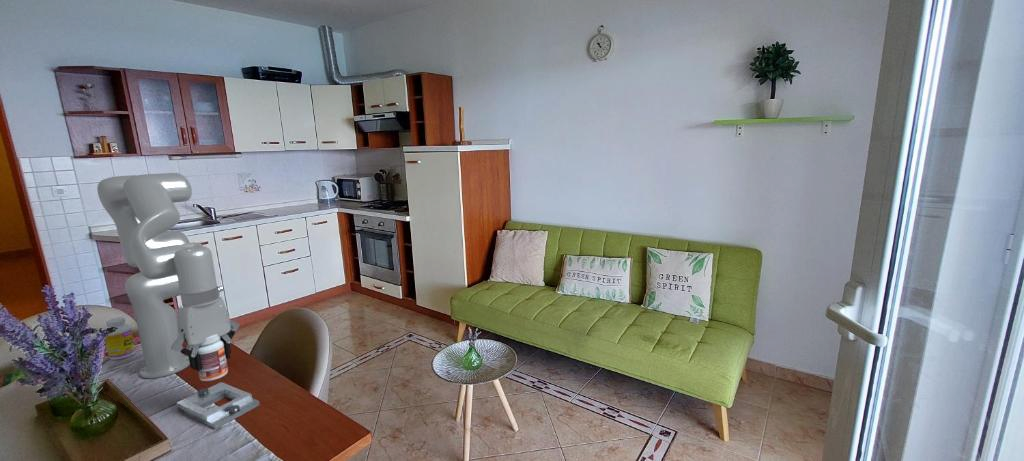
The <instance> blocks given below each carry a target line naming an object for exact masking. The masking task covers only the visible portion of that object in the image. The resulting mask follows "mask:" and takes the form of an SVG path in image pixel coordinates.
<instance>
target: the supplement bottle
mask: <svg viewBox="0 0 1024 461" xmlns="http://www.w3.org/2000/svg"><path fill="white" fill-rule="evenodd" d="M105 325H106V327H107V328H111V327H117V328H118V329H117V330H116V331H115V332H113V333H112V334H109V335H108V336H107V338H106V342H105V346H106V350H107V356H108V359H109V360H112V361H119V360H123V358H124V359H126V357H127V358H129V357H131V356H133V355H135V353H136V348H135V342H134V338H133V333H132V327H131V326H130V325H129V324H127V323H126V318H125V317H123V316H122V317H121V316H120V317H114V318H110V319H107V320H106V321H105Z"/></svg>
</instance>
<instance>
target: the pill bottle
mask: <svg viewBox="0 0 1024 461" xmlns="http://www.w3.org/2000/svg"><path fill="white" fill-rule="evenodd" d="M197 355H199V356H200V360H201V366H202V370H201V371H197V373H198V377H199V380H200V381H201V382H203V381H204V382H211V381H215V380H218V379H221V378H223V377H225V376H226V375H227V374H228V373H229V372H228V371H229V367H228V362H227V359H226V355H225V349H224V344H223V342H222V341H221V340H220V337H218V335H217V334H216V335H213V336H211V337H208V338H206V341H205V342H203V343H201V344H199V348H198V351H197Z"/></svg>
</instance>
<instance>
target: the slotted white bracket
mask: <svg viewBox="0 0 1024 461" xmlns="http://www.w3.org/2000/svg"><path fill="white" fill-rule="evenodd" d="M225 398H227V399H229V400H230V401H228V402H226V403H224V404H222V405H220V406H218V407H216V408H214V409H212V410H211V411H210V410H208V409H207V407H209V406H211V405H213V404H215V403H217V402H219V401H220V400H223V399H225ZM212 403H213V404H212ZM210 404H211V405H210ZM208 405H209V406H208ZM176 406H177V412H180V414H181V413H182V414H183V415H186V416H188V417H190V418H192V419H194V420H196V421H198V422H200V423H202V424H204V425H206V426H208V427H209V428H212V429H215V430H216V429H218V428H220V427H222V426H224V425H225V424H228V423H229V422H231V421H233V420H235V419H237V418H239V417H240V416H243V415H244V414H247V412H250V411H252V410H253V409H255V408H257V407H259V406H260V401H259V400H258V399H255V398H254V397H253V396H252V393H250V392H247V391H244V390H241V389H239V388H237V387H234V386H232V385H230V384H227V383H225V382H222V381H221V382H218V383H217V384H215V385H212V386H210V387H208V388H202V389H201V388H200V389H199V390H198V391H197V392H196V393H195V394H192V395H191V396H188V397H186V398H183V399H182V400H180V401H178V402H176ZM206 406H207V407H206ZM204 407H205V408H204Z"/></svg>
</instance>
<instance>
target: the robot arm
mask: <svg viewBox="0 0 1024 461" xmlns="http://www.w3.org/2000/svg"><path fill="white" fill-rule="evenodd" d="M96 186H97V187H96V188H97V190H96V191H97V196H98V199H99V201H100V203H101V205H102V207H103V208H104V210H105V211H106V213H107V214H108V216H110V218H111V219H112V221H113V223H114V225H115V228H116V231H117V235H118V239H119V243H120V247H121V251H122V254H123V258H124V260H125V262H126V264H127V265H128V266H130V267H132V268H138V269H139V270H138V271H139V272H137V273H135V274H132V275H131V276H129V277H128V278H127V279H126V280H125V283H124V287H125V288H124V289H125V292H126V294H127V295H126V296H127V297H128V300H129V302H130V305H131V307H132V310H133V313H134V317H135V322H136V326H137V330H138V331H137V332H138V335H139V341H140V345H141V350H142V354H143V355H142V356H143V360H144V366H143V367H142V368H141V369H140V370H139V376H140V377H141V378H144V379H157V378H162V377H167V376H170V375H173V374H176V373H178V372H181V371H183V370H185V369H186V368H188V367H190V368H191V369H193V370H195V371H197V372H198V371H201V370H202V366H201V360H200V356H199V355H197V351H198V348H199V344H201V343H203V342H205V341H206V338H208V337H211V336H213V335H216V334H217V335H218V337H220V339H219V340H220V341H222V342H223V344H224V349H225V355H226V360H229V359H231V358H232V357H231V353H232V350H231V349H232V348H231V345H230V344H231V343H232V340H233V337H234V336H235V335H236V332H237V330H239V328H240V326H241V325H240V323H239V322H236V321H234V320H232V319H230V317H229V316H230V315H229V313H228V309H227V307H226V305H225V301H224V299H223V298H222V296H220V293H221V292H223V291H224V287H223V286H222V285H221V286H218V284H217V282H218V281H217V278H216V271H215V265H214V260H213V253H212V250H211V249H210V248H209V247H207V246H205V245H203V243H200V242H190V240H189V239H188V236H187V235H186V234H185V233H183V232H181V231H180V230H171V229H173V228H174V227H175V226H177V225H178V223H179V222H180V218H181V215H180V211H179V210H178V208H177V207H176V205H175V203H183V202H184V203H186V202H188V201H189V200H190V199H191V198H192V195H193V191H192V190H193V189H192V186H191V184H190V181H189V180H188V179H187V177H186V176H184V175H183V174H181V173H178V172H168V173H145V174H144V173H143V174H137V175H135V174H133V175H118V176H111V177H107V178H103V179H102V180H100V181H99V182H98V183H97V185H96ZM176 297H180V300H181V303H182V304H181V305H178V309H177V312H176V310H175V309H174V307H172V306H171V305H169V304H167V303H165V302H164V301H165V300H169V299H171V298H176ZM183 344H187V346H186V348H185V347H184V346H183Z"/></svg>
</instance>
